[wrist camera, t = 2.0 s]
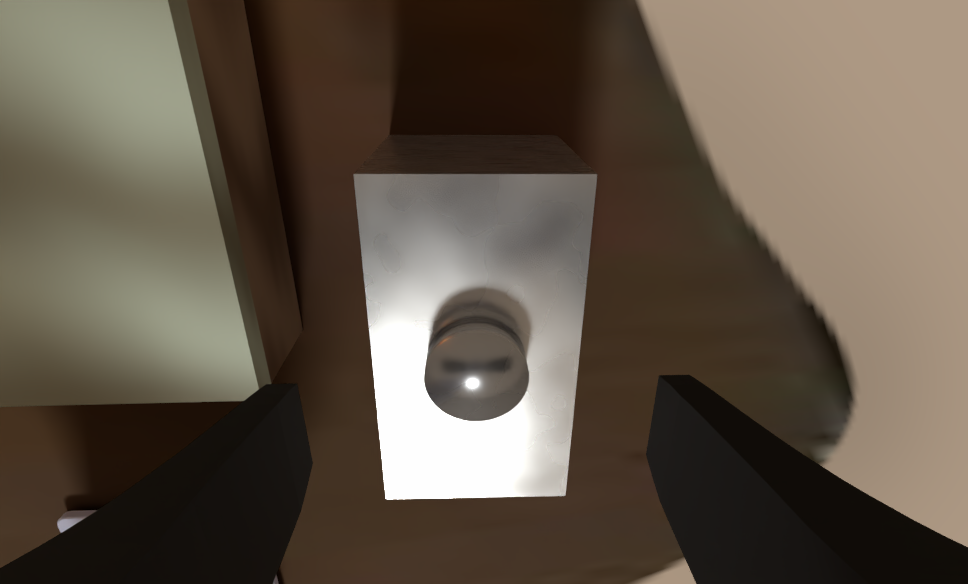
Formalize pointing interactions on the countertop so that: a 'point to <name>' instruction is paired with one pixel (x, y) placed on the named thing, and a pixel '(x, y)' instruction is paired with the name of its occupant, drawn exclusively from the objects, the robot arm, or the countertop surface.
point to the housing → (475, 309)
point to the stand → (137, 207)
